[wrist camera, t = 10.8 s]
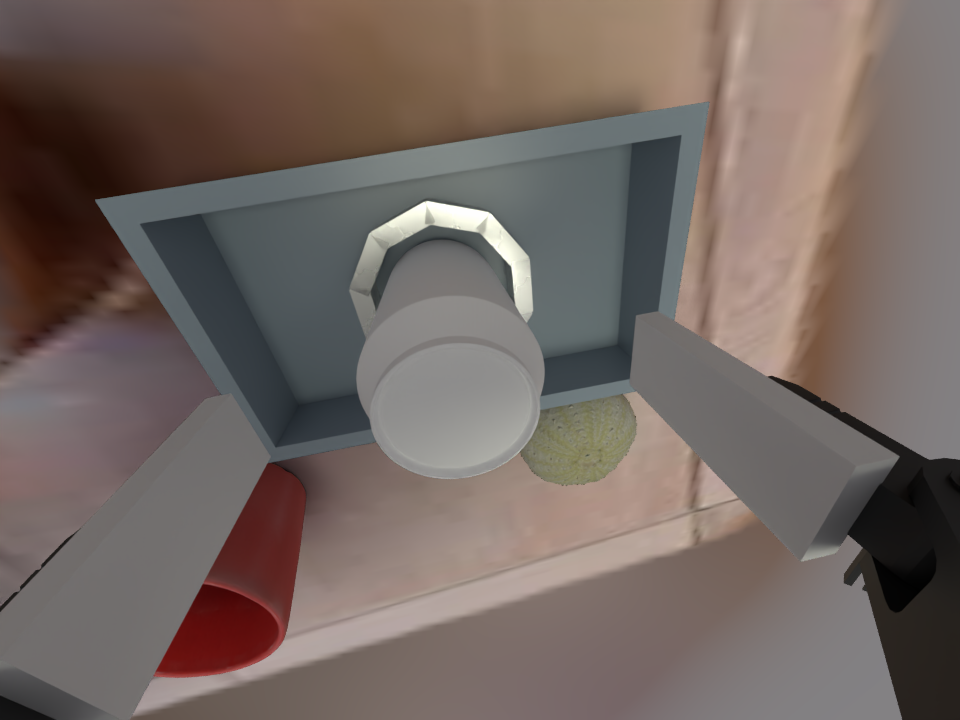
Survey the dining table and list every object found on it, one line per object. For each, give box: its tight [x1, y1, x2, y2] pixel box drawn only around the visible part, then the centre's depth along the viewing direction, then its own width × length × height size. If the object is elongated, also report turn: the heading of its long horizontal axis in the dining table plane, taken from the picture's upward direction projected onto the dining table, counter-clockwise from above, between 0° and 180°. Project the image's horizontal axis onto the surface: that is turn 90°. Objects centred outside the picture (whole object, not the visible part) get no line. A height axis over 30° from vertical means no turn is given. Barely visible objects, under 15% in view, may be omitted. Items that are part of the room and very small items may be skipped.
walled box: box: [95, 102, 709, 463], centre depth 19 cm, size 24×14×5 cm, turn 98°
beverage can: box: [356, 240, 545, 479], centre depth 15 cm, size 6×6×12 cm
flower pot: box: [153, 463, 306, 678], centre depth 23 cm, size 11×11×10 cm
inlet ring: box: [349, 198, 533, 338], centre depth 19 cm, size 10×10×2 cm
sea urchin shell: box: [520, 394, 637, 486], centre depth 26 cm, size 9×8×8 cm
